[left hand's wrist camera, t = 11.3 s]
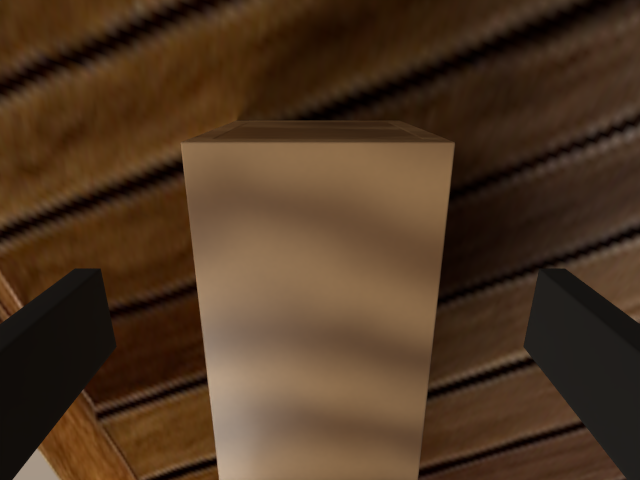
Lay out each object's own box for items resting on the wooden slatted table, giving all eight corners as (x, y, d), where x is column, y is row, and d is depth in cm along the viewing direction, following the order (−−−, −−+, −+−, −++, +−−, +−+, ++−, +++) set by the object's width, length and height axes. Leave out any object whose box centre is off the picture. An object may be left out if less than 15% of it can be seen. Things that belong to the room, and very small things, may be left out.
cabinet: (384, 361, 34) (416, 493, 23) (252, 362, 34) (220, 493, 23) (400, 120, 27) (455, 141, 16) (235, 120, 27) (180, 141, 16)
